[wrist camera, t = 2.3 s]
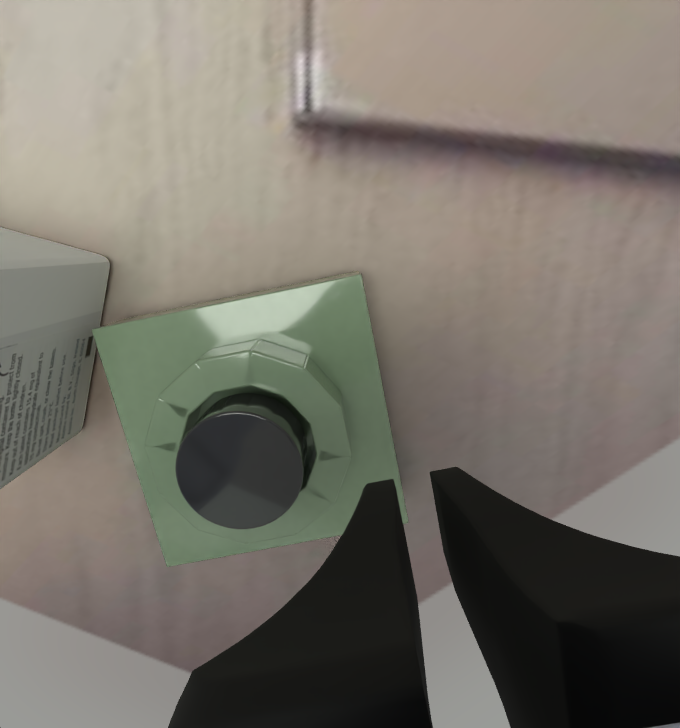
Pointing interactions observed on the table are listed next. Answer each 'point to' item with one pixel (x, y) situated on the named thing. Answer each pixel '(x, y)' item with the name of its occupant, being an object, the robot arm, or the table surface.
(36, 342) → the container
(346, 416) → the push button base
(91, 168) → the table surface
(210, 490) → the dark grey push button
